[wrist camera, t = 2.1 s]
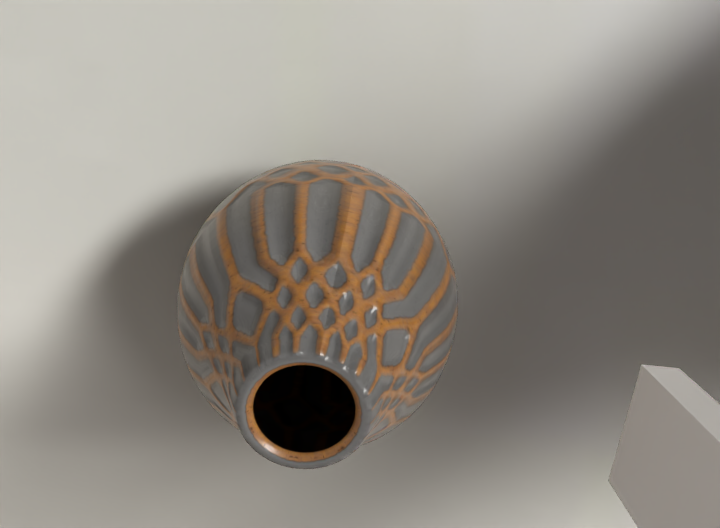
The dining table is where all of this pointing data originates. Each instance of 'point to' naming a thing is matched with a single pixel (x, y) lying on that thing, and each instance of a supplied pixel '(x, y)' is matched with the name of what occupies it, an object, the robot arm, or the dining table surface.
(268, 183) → the vase
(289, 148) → the dining table surface
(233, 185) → the dining table surface
